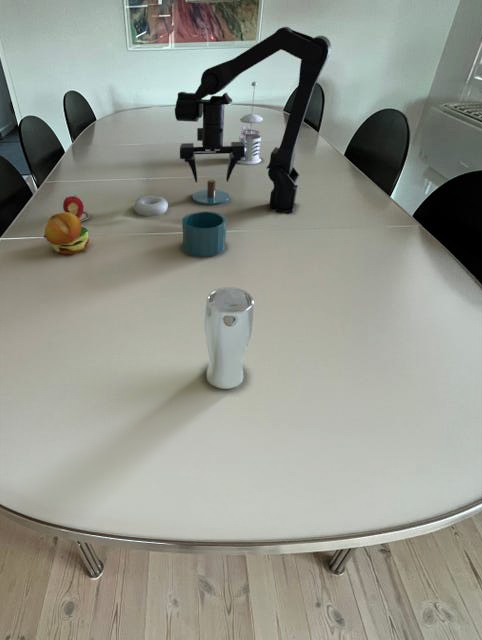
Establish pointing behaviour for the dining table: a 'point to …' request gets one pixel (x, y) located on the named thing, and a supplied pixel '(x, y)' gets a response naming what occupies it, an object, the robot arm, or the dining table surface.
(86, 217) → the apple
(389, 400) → the dining table surface
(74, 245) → the cheeseburger
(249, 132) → the french press
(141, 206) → the donut
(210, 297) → the beer glass
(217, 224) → the canister
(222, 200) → the lid
